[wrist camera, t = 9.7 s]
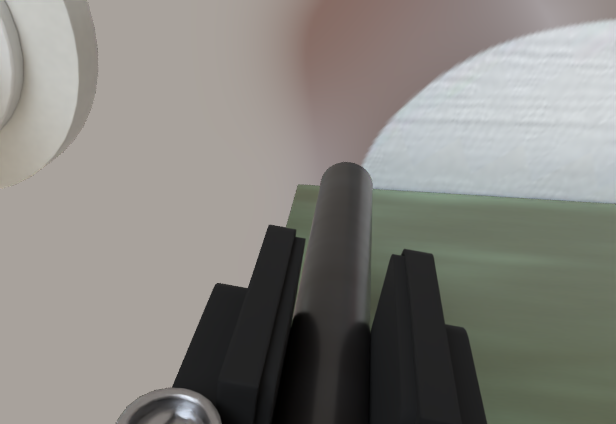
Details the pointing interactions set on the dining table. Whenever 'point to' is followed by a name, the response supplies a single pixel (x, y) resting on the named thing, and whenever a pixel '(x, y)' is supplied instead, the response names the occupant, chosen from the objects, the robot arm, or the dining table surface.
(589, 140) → the dining table surface
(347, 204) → the cabinet door
